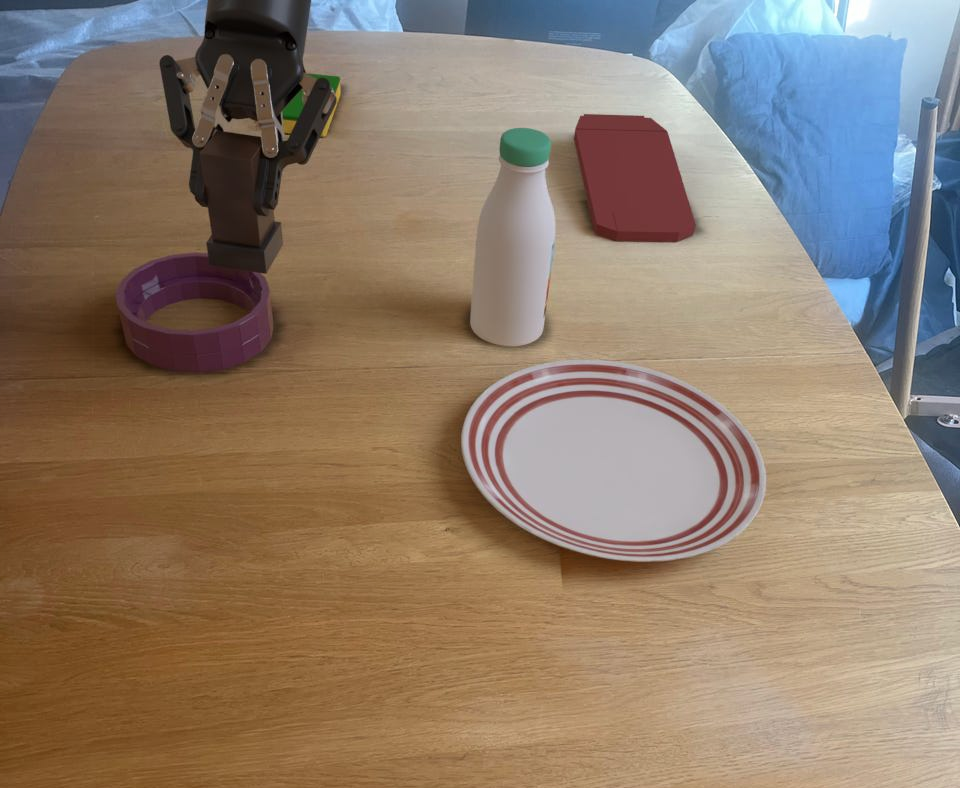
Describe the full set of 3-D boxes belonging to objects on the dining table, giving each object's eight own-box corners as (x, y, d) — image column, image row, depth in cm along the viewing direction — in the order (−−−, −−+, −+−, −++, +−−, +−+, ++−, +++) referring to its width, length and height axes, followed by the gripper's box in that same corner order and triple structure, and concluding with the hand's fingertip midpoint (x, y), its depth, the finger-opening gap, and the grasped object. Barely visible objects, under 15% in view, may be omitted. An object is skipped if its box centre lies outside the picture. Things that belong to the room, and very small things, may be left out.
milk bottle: (537, 358, 102) (563, 162, 86) (463, 346, 102) (476, 149, 87) (547, 317, 107) (573, 125, 91) (476, 306, 107) (491, 112, 92)
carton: (687, 267, 122) (652, 143, 135) (698, 232, 118) (660, 108, 131) (591, 265, 121) (564, 141, 133) (598, 231, 117) (570, 105, 129)
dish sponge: (341, 94, 139) (340, 75, 137) (325, 138, 130) (324, 118, 128) (290, 89, 139) (288, 70, 137) (271, 132, 130) (269, 113, 128)
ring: (111, 375, 95) (100, 329, 91) (143, 293, 104) (134, 248, 101) (263, 383, 96) (258, 338, 92) (281, 301, 105) (277, 257, 101)
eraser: (209, 265, 81) (192, 154, 74) (228, 236, 84) (213, 126, 77) (266, 274, 81) (254, 163, 74) (283, 244, 84) (273, 135, 77)
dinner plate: (704, 378, 102) (712, 350, 99) (803, 571, 85) (816, 544, 82) (438, 390, 97) (440, 361, 95) (487, 597, 80) (491, 569, 78)
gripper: (153, -64, 72) (123, 177, 74) (344, -38, 72) (309, 205, 73) (190, -6, 80) (162, 212, 82) (363, 17, 79) (331, 237, 81)
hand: (232, 207), depth 77 cm, fingers closed on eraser, 4 cm apart
